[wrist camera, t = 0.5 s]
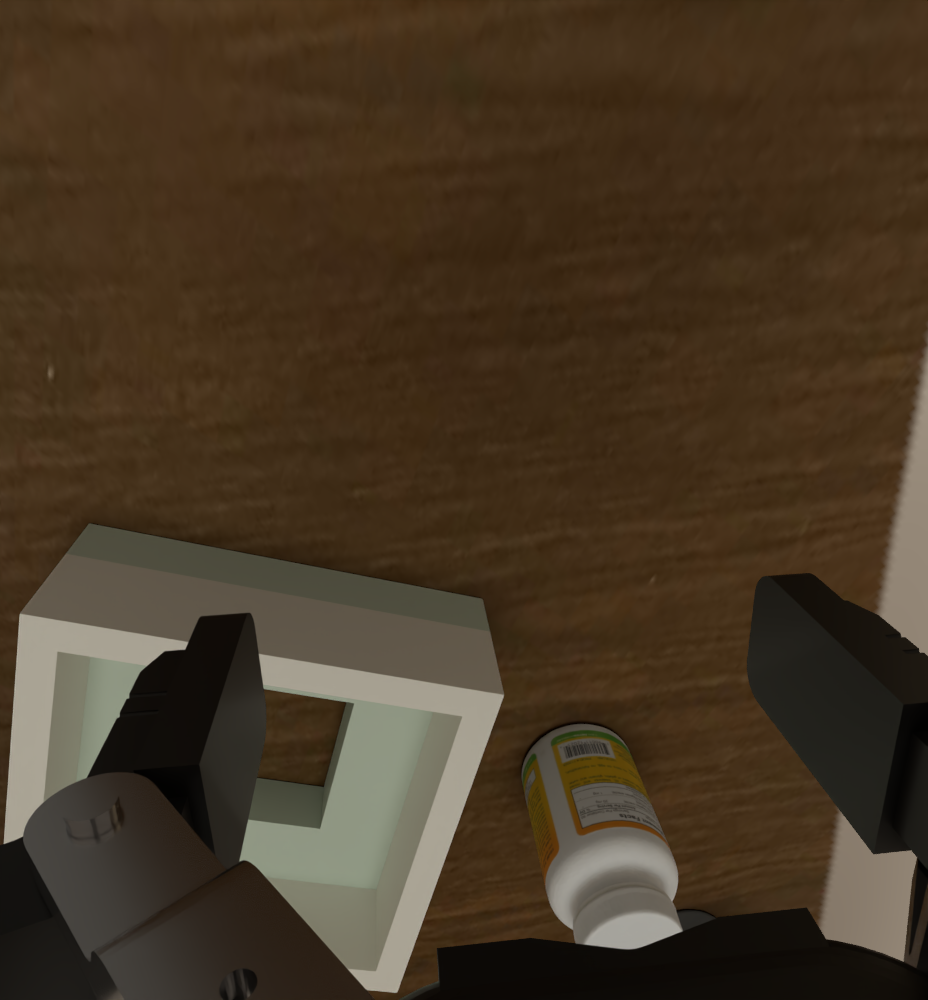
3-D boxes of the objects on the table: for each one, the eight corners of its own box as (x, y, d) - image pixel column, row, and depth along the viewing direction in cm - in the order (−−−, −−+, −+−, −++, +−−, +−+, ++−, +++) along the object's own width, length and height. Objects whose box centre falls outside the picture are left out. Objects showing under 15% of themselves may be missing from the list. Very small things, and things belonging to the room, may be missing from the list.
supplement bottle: (566, 823, 40) (619, 1017, 31) (497, 766, 38) (532, 956, 29) (651, 762, 39) (731, 945, 30) (583, 700, 37) (648, 877, 28)
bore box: (89, 523, 31) (19, 613, 25) (482, 598, 34) (504, 694, 28) (57, 826, 37) (-5, 957, 31) (394, 866, 40) (397, 992, 34)
